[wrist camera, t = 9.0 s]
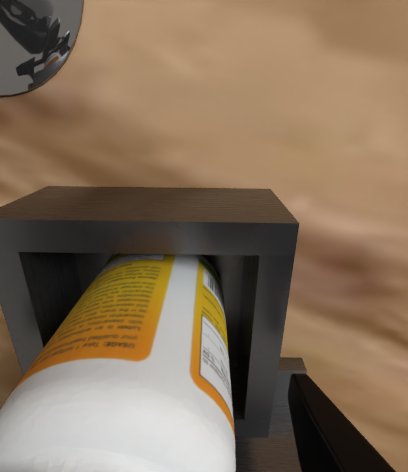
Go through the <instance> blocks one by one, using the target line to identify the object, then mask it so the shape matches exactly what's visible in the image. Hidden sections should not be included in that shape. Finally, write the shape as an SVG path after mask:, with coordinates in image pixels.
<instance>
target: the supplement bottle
mask: <svg viewBox="0 0 408 472" xmlns="http://www.w3.org/2000/svg"><path fill="white" fill-rule="evenodd" d="M235 471H236V458H235V433H234V419H233V408H232V395H231V381H230V369H229V357H228V342H227V330H226V316H225V304H224V295H223V289H222V285H221V281H220V279H219V276H218V275H217V273H216V271H215V269H214V268H213V266H212V265H211V264H210V263H209V262H208V260H207V259H206V258H204V257H203V256H202V255H191V254H123V253H116V254H115V255H113V256H112V257H111V258H110V259H109V261H108V262H107V263H106V264H105V265H104V266H103V268H102V269H101V270H100V272H99V273H98V274H97V276H96V277H95V279H94V280H93V281H92V283H91V284H90V286H89V287H88V288H87V290H86V291H85V292H84V294H83V295H82V296H81V298H80V299H79V301H78V302H77V303H76V305H75V306H74V307H73V309H72V310H71V311H70V313H69V314H68V316H67V317H66V319H65V320H64V321H63V323H62V324H61V325H60V327H59V328H58V329H57V331H56V332H55V333H54V335H53V336H52V338H51V339H50V340H49V342H48V343H47V344H46V346H45V347H44V348H43V350H42V351H41V352H40V354H39V355H38V356H37V358H36V359H35V361H34V362H33V363H32V365H31V366H30V367H29V368H28V370H27V372H26V373H25V374H24V375H23V377H22V378H21V379H20V381H19V382H18V384H17V385H16V387H15V388H14V389H13V391H12V392H11V394H10V395H9V397H8V398H7V400H6V401H5V403H4V405H3V406H2V408H1V409H0V472H235Z"/></svg>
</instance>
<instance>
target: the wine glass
mask: <svg viewBox="0 0 408 472" xmlns="http://www.w3.org/2000/svg"><path fill="white" fill-rule="evenodd" d="M83 5H84V0H0V96H14V95H17V94H21V93H25V92H29V91H31V90H33V89H35V88H37V87H39V86H41V85H43V84H44V83H45V82H46V81H48V80H49V79H50V78H51V77H52V76H54V75H55V74H56V73H57V72H58V70H59V69H60V68H61V67H62V65H63V64H64V63H65V61H66V60H67V58H68V56H69V54H70V52H71V50H72V49H73V47H74V45H75V42H76V39H77V36H78V32H79V29H80V25H81V20H82V12H83Z"/></svg>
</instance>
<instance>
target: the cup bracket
mask: <svg viewBox="0 0 408 472" xmlns="http://www.w3.org/2000/svg"><path fill="white" fill-rule="evenodd" d="M298 228H299V222H298V221H297V220H296V219H295V218H294V217H293V215H292V214H291V213H290V212H289V211H288V209H287V208H286V207H285V206H284V205H283V203H282V202H281V201H280V200H279V199H278V197H277V196H276V195H275V194H274V193H273V192H272V190H271V189H226V188H144V187H61V186H48V187H45V188H43V189H41V190H38V191H36V192H34V193H32V194H29V195H27V196H25V197H23V198H20V199H18V200H16V201H13V202H11V203H9V204H7V205H4V206H2V207H0V304H1V307H2V310H3V313H4V316H5V319H6V323H7V326H8V329H9V332H10V335H11V338H12V342H13V345H14V348H15V351H16V354H17V357H18V360H19V364H20V367H21V370H22V373H23V375H24V374H25V373H26V372H27V370H28V368H29V367H30V366H31V365H32V363H33V362H34V361H35V359H36V358H37V356H38V355H39V354H40V352H41V351H42V350H43V348H44V347H45V346H46V344H47V343H48V342H49V340H50V339H51V338H52V336H53V335H54V333H55V332H56V331H57V329H58V328H59V327H60V325H61V324H62V323H63V321H64V320H65V319H66V317H67V316H68V314H69V313H70V311H71V310H72V309H73V307H74V306H75V305H76V303H77V302H78V301H79V299H80V298H81V296H82V295H83V294H84V292H85V291H86V290H87V288H88V287H89V286H90V284H91V283H92V281H93V280H94V279H95V277H96V276H97V274H98V273H99V272H100V270H101V269H102V268H103V266H104V265H105V264H106V263H107V262H108V261H109V259H110V258H111V257H112V256H113V255H115V254H116V253H123V254H191V255H202V256H203V257H204V258H206V259H207V260H208V262H209V263H210V264H211V265H212V266H213V268H214V269H215V271H216V273H217V275H218V276H219V279H220V281H221V285H222V289H223V295H224V304H225V316H226V330H227V342H228V357H229V369H230V381H231V395H232V408H233V419H234V433H235V458H236V471H235V472H302V471H301V467H300V463H299V458H298V453H297V448H296V442H295V437H294V431H293V426H292V420H291V415H290V409H289V404H288V388H289V382H290V377H291V374H292V373H305V374H306V372H307V370H306V368H305V365H304V362H303V360H302V358H280V352H281V346H282V339H283V332H284V325H285V318H286V311H287V304H288V297H289V290H290V283H291V277H292V270H293V263H294V256H295V249H296V242H297V235H298Z"/></svg>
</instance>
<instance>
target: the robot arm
mask: <svg viewBox="0 0 408 472" xmlns="http://www.w3.org/2000/svg"><path fill="white" fill-rule="evenodd" d="M288 404H289V409H290V415H291V420H292V426H293V431H294V437H295V442H296V448H297V453H298V458H299V463H300V467H301V471H302V472H396V471H395V470H394V469H393V468H392V467H391V466H390V465H389V464H388V463H387V462H386V460H385V459H384V458H383V457H382V456H381V455H380V454H379V453H378V452H377V451H376V450H375V448H374V447H373V446H372V445H371V444H370V443H369V442H368V441H367V440H366V439H365V437H364V436H363V435H362V434H361V433H360V432H359V431H358V430H357V429H356V428H355V427H354V425H353V424H352V423H351V422H350V421H349V420H348V419H347V418H346V417H345V416H344V414H343V413H342V412H341V411H340V410H339V409H338V408H337V407H336V406H335V405H334V404H333V402H332V401H331V400H330V399H329V398H328V397H327V396H326V395H325V394H324V393H323V392H322V390H321V389H320V388H319V387H318V386H317V385H316V384H315V383H314V382H313V381H312V379H311V378H310V377H309V376H308V375H307V374H305V373H292V374H291V377H290V382H289V388H288Z"/></svg>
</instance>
